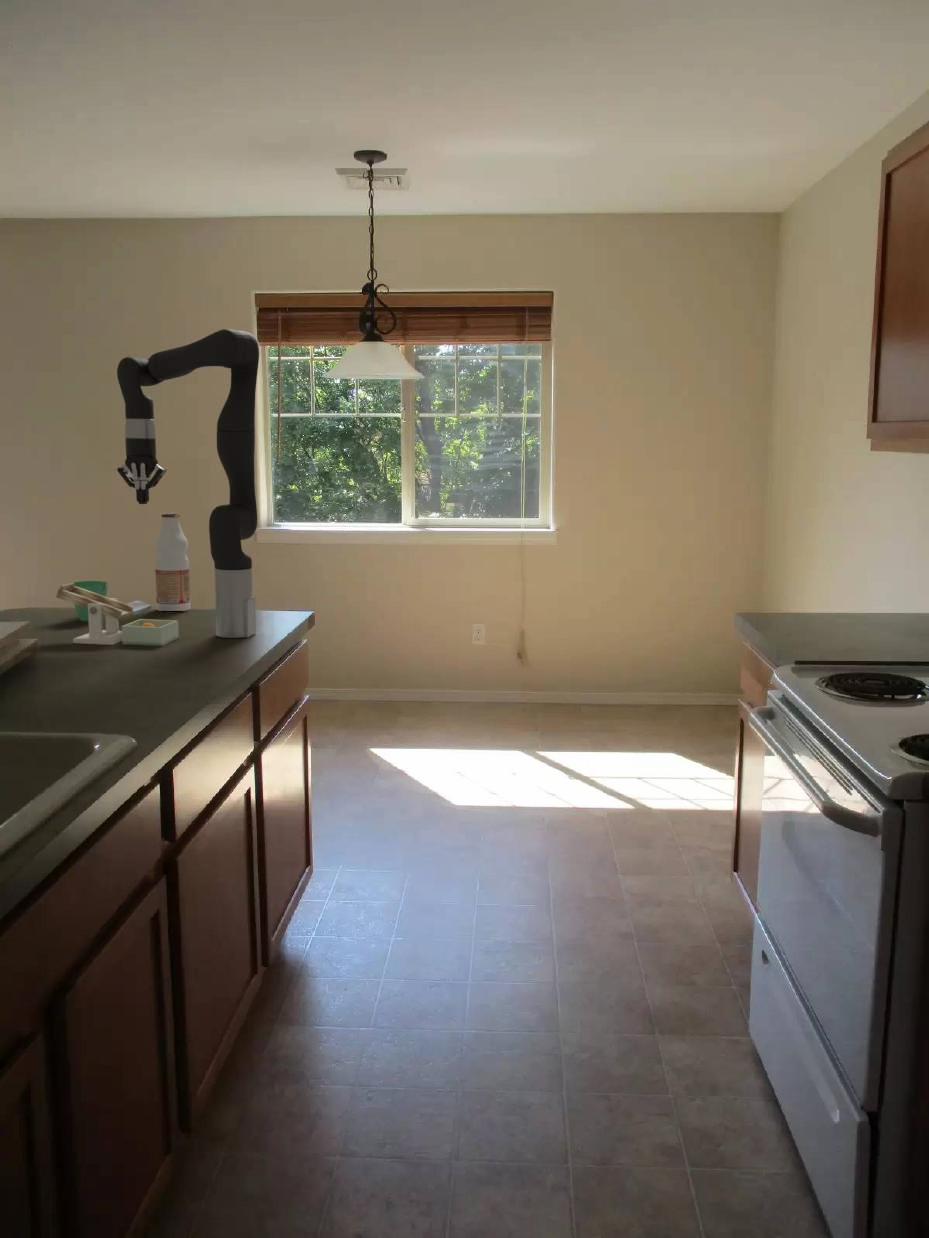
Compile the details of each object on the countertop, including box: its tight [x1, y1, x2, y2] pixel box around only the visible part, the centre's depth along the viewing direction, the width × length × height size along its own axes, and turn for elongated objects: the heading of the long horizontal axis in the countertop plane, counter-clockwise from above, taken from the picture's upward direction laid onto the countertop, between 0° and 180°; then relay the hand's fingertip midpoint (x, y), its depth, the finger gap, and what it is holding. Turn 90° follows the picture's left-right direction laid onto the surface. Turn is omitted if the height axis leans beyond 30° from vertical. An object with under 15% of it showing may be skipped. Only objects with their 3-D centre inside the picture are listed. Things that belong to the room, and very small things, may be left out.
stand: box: [72, 597, 122, 646], centre depth 248 cm, size 10×12×10 cm
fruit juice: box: [154, 512, 191, 612], centre depth 289 cm, size 9×9×28 cm
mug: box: [72, 580, 109, 622], centre depth 275 cm, size 15×10×10 cm
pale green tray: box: [121, 618, 180, 647], centre depth 247 cm, size 10×10×4 cm
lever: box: [56, 582, 153, 620], centre depth 252 cm, size 17×17×3 cm
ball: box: [141, 623, 155, 627], centre depth 247 cm, size 4×4×4 cm
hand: (142, 503), depth 265 cm, fingers closed
